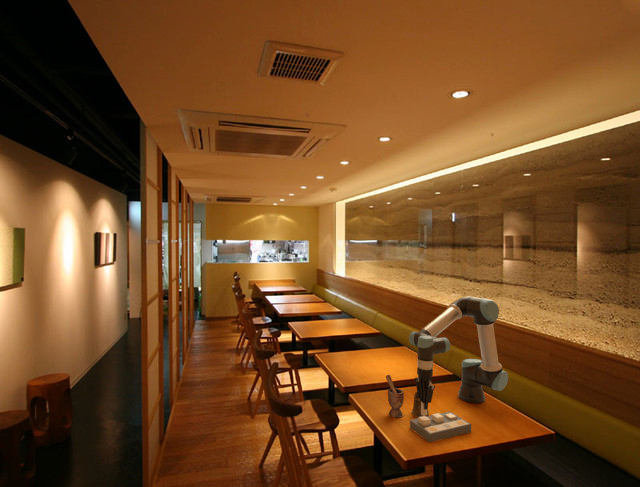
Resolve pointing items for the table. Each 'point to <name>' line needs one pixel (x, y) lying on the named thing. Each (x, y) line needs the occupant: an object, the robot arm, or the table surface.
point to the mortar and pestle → (395, 399)
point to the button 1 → (424, 421)
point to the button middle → (437, 418)
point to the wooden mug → (417, 407)
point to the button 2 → (450, 416)
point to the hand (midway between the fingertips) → (424, 414)
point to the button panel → (441, 428)
